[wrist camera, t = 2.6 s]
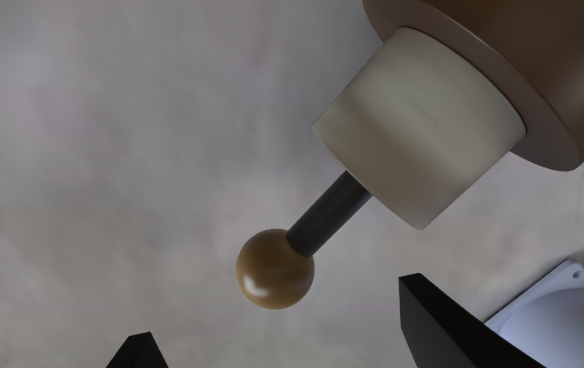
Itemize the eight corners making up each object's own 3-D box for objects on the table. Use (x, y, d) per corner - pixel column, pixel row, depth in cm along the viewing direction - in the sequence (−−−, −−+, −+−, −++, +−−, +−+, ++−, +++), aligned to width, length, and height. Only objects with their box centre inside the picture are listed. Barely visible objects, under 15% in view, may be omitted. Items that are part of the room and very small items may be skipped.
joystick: (309, 272, 18) (349, 432, 11) (179, 190, 15) (124, 336, 8) (489, 97, 15) (696, 167, 8) (368, -45, 12) (528, -125, 5)
